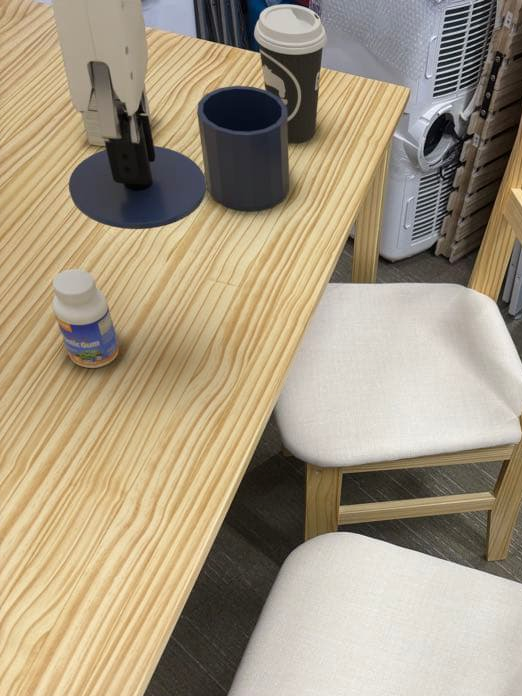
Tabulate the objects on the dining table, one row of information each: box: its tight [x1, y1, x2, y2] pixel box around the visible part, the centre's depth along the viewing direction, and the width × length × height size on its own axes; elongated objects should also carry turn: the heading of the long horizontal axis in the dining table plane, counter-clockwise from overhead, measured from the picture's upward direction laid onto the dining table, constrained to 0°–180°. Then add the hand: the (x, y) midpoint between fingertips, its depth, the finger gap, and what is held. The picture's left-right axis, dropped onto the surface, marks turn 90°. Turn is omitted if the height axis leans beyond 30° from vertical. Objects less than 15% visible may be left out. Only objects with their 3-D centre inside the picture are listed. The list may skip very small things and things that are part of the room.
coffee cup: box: [253, 3, 328, 144], centre depth 108 cm, size 10×10×15 cm
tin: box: [196, 85, 290, 212], centre depth 101 cm, size 11×11×10 cm
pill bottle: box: [52, 268, 120, 369], centre depth 83 cm, size 5×5×10 cm
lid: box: [68, 115, 207, 230], centre depth 69 cm, size 12×12×7 cm
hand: (135, 168), depth 70 cm, fingers closed on lid, 2 cm apart
